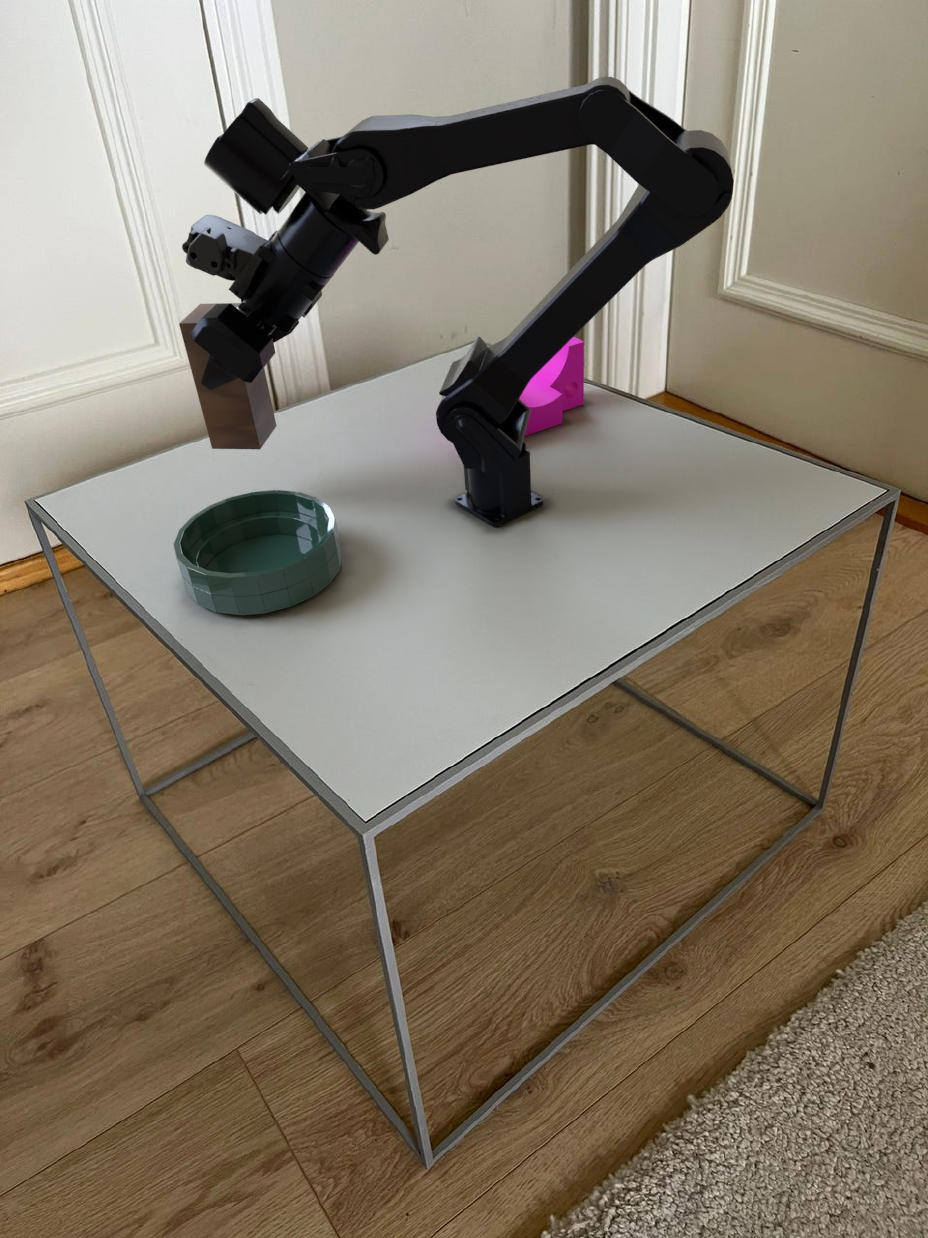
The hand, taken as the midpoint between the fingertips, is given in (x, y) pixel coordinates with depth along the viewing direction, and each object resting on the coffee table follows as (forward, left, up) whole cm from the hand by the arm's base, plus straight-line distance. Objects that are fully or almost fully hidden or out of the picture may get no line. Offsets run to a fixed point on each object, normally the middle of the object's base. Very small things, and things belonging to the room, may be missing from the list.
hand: (216, 374), depth 90 cm
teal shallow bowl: (-14, +5, -13) cm, 20 cm away
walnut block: (-1, -1, -7) cm, 7 cm away
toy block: (-8, -32, -14) cm, 35 cm away
